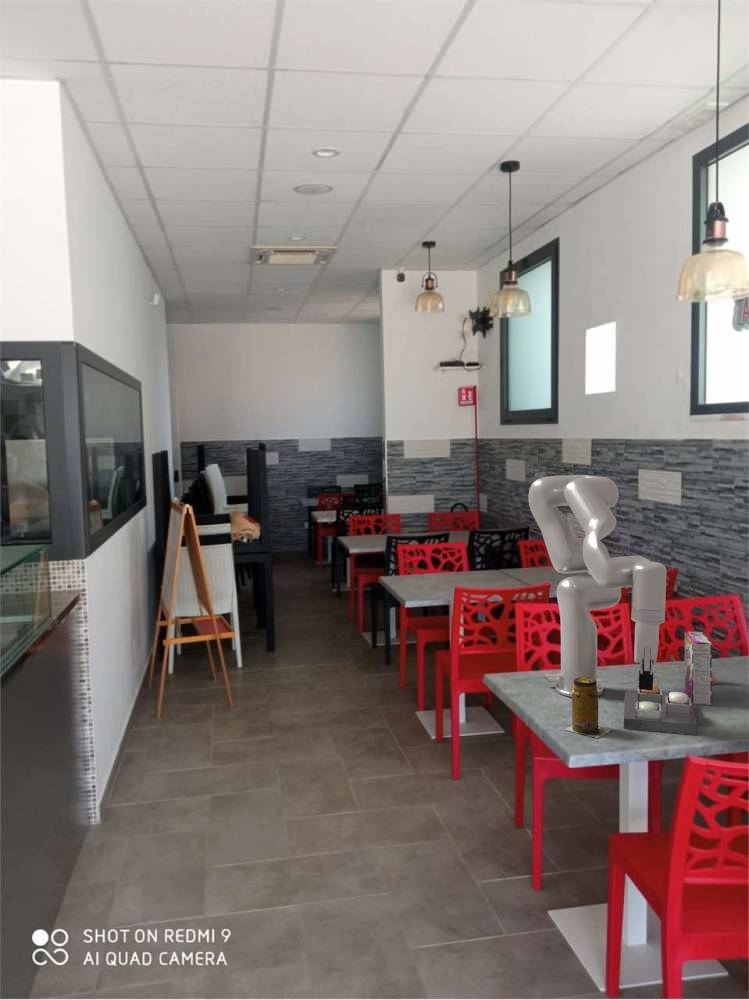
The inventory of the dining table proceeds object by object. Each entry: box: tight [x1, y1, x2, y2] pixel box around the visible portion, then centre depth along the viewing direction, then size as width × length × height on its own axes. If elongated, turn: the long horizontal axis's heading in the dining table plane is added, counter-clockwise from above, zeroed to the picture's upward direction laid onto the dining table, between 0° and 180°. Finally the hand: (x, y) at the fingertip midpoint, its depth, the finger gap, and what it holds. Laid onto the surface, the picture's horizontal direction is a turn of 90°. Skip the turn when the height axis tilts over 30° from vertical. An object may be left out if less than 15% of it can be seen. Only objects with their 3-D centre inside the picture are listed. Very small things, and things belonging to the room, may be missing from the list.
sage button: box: [639, 702, 658, 711], centre depth 187 cm, size 4×4×2 cm
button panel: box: [623, 685, 698, 736], centre depth 192 cm, size 16×20×4 cm
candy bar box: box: [684, 631, 713, 706], centre depth 204 cm, size 11×5×16 cm, turn 168°
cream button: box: [668, 691, 688, 705], centre depth 190 cm, size 4×4×2 cm
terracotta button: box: [641, 682, 660, 694], centre depth 198 cm, size 4×4×2 cm
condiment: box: [564, 677, 613, 739], centre depth 184 cm, size 7×8×12 cm
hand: (645, 688), depth 187 cm, fingers closed
